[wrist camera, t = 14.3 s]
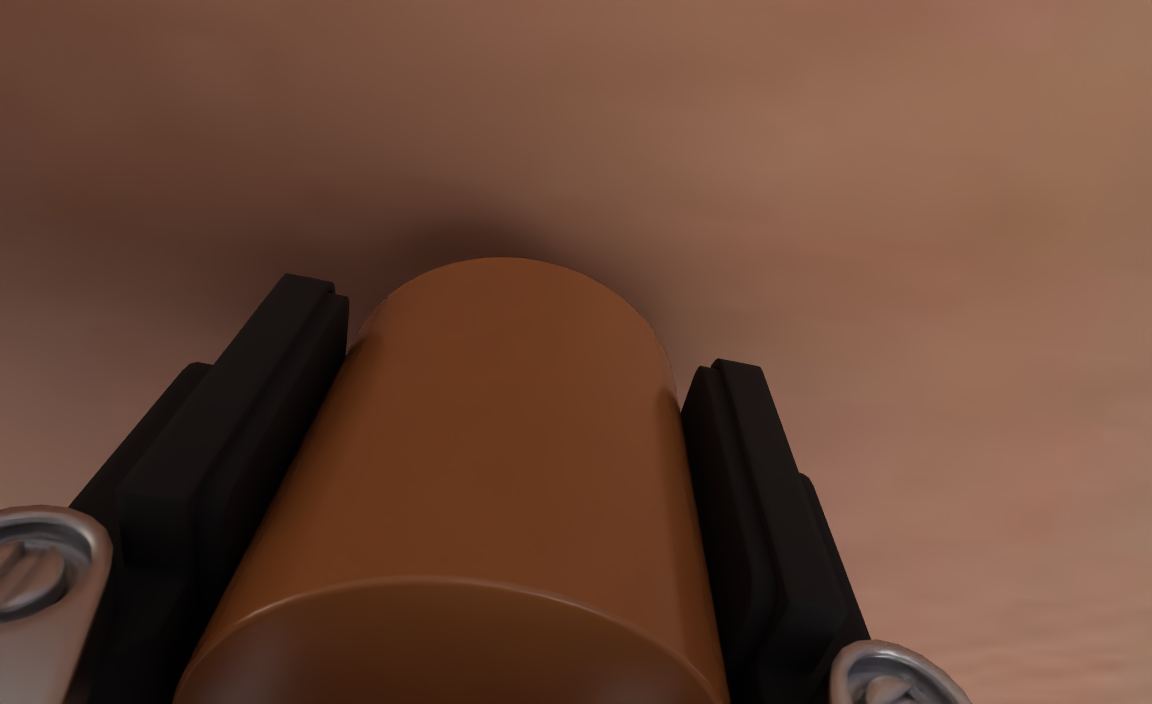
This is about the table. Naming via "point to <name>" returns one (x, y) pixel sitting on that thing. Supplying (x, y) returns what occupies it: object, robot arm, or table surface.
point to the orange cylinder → (479, 515)
